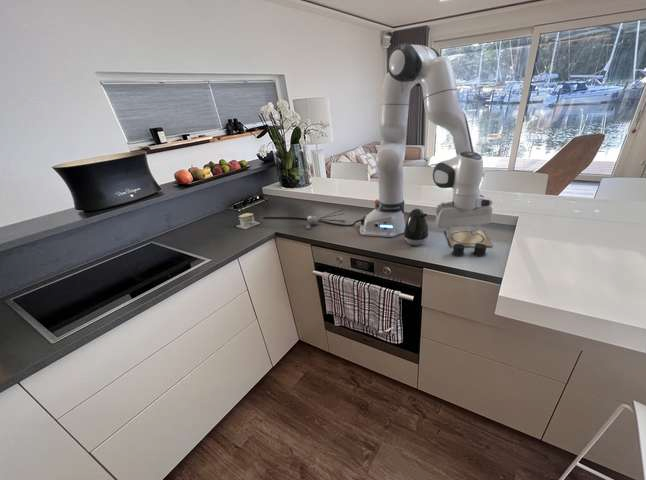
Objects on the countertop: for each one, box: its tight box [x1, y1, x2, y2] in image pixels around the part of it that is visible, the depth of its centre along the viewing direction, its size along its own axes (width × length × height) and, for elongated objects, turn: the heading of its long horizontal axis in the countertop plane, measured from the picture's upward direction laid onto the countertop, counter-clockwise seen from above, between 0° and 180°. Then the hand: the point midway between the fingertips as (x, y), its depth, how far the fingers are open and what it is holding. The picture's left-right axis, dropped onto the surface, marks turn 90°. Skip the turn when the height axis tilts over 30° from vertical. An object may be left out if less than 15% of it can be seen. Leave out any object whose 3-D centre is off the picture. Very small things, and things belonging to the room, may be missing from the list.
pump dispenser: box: [403, 208, 429, 246], centre depth 120 cm, size 10×10×15 cm
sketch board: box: [445, 229, 492, 248], centre depth 123 cm, size 16×16×1 cm
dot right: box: [473, 244, 487, 257], centre depth 110 cm, size 4×4×4 cm
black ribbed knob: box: [452, 244, 466, 257], centre depth 112 cm, size 4×4×4 cm
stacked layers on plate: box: [236, 212, 261, 230], centre depth 154 cm, size 10×9×6 cm
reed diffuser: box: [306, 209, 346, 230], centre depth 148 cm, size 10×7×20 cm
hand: (461, 236), depth 109 cm, fingers open, 8 cm apart
